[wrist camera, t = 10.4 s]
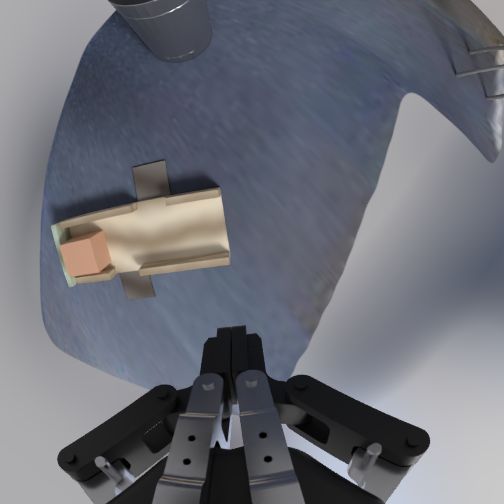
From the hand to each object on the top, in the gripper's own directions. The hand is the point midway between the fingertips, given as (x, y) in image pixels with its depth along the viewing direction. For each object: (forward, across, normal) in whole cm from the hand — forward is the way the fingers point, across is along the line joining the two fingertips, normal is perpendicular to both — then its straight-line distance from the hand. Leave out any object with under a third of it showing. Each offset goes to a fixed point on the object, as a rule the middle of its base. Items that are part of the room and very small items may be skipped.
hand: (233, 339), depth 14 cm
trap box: (+26, +14, 0) cm, 29 cm away
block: (+25, +23, 0) cm, 33 cm away
